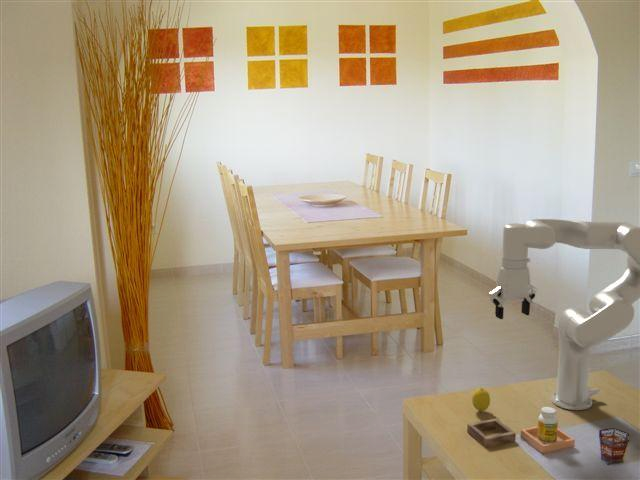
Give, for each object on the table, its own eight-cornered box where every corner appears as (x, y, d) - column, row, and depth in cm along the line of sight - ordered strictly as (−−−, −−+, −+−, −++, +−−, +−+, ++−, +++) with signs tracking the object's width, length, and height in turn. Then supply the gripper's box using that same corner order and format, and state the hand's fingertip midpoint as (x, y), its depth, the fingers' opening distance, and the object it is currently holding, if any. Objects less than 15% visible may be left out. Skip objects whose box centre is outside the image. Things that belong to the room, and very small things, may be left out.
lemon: (489, 416, 218) (490, 392, 217) (471, 414, 219) (472, 391, 218) (489, 408, 224) (490, 385, 222) (471, 407, 225) (472, 384, 223)
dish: (550, 431, 208) (550, 423, 208) (574, 447, 198) (574, 439, 198) (520, 437, 205) (520, 429, 204) (543, 454, 195) (543, 446, 194)
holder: (495, 425, 212) (496, 418, 211) (515, 441, 203) (515, 433, 202) (467, 431, 209) (467, 424, 208) (485, 447, 200) (485, 439, 199)
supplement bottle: (550, 434, 205) (552, 404, 203) (560, 443, 200) (562, 412, 198) (533, 437, 204) (535, 406, 201) (543, 446, 198) (545, 415, 196)
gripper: (530, 258, 222) (528, 309, 226) (483, 263, 216) (482, 316, 220) (545, 263, 215) (542, 316, 219) (497, 269, 209) (495, 323, 213)
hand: (512, 316), depth 219 cm, fingers open, 9 cm apart
